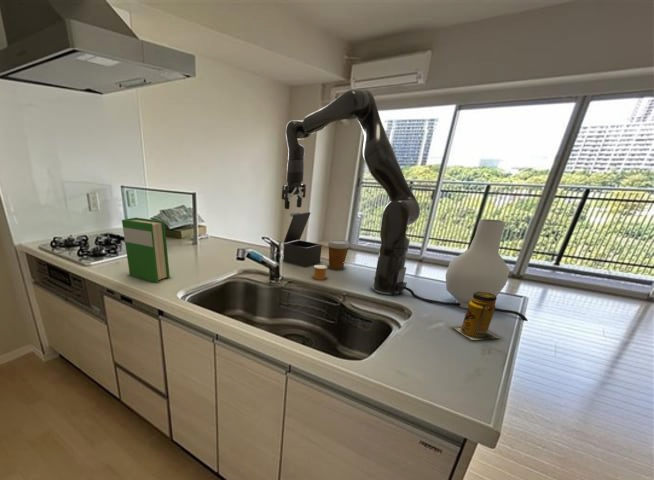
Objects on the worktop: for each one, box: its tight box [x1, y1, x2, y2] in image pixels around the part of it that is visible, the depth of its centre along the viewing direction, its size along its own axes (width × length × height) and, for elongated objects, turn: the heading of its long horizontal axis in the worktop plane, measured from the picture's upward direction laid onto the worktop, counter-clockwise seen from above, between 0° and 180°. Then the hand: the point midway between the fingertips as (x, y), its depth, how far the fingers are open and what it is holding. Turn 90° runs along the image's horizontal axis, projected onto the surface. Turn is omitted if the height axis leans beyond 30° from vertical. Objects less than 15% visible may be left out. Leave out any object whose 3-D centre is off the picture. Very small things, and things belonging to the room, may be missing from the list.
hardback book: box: [121, 217, 171, 284], centre depth 143 cm, size 18×7×24 cm, turn 53°
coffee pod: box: [313, 264, 328, 281], centre depth 142 cm, size 5×5×5 cm
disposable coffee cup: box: [327, 239, 351, 270], centre depth 153 cm, size 10×10×12 cm
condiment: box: [453, 292, 501, 341], centre depth 94 cm, size 7×8×12 cm
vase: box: [445, 218, 511, 309], centre depth 109 cm, size 17×16×28 cm
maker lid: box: [283, 211, 311, 243], centre depth 163 cm, size 14×12×5 cm
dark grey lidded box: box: [282, 239, 323, 268], centre depth 163 cm, size 14×12×9 cm
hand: (293, 208), depth 160 cm, fingers open, 8 cm apart
